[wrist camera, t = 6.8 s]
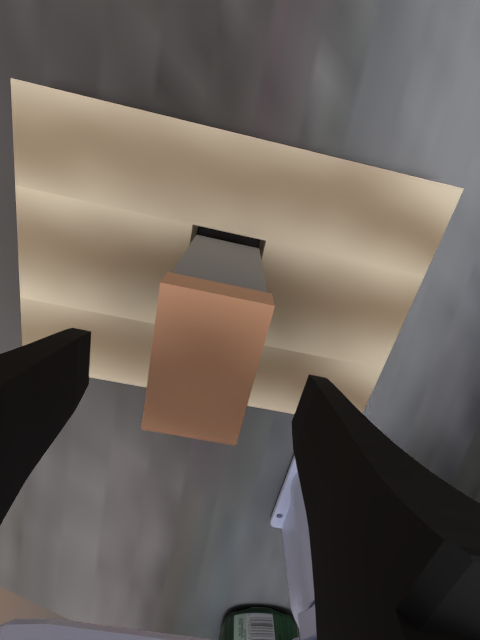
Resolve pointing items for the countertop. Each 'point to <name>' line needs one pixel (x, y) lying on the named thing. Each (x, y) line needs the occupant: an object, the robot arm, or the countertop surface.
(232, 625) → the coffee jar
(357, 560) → the robot arm
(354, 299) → the beige wooden board
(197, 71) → the countertop surface
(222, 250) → the orange brown rectangular block
